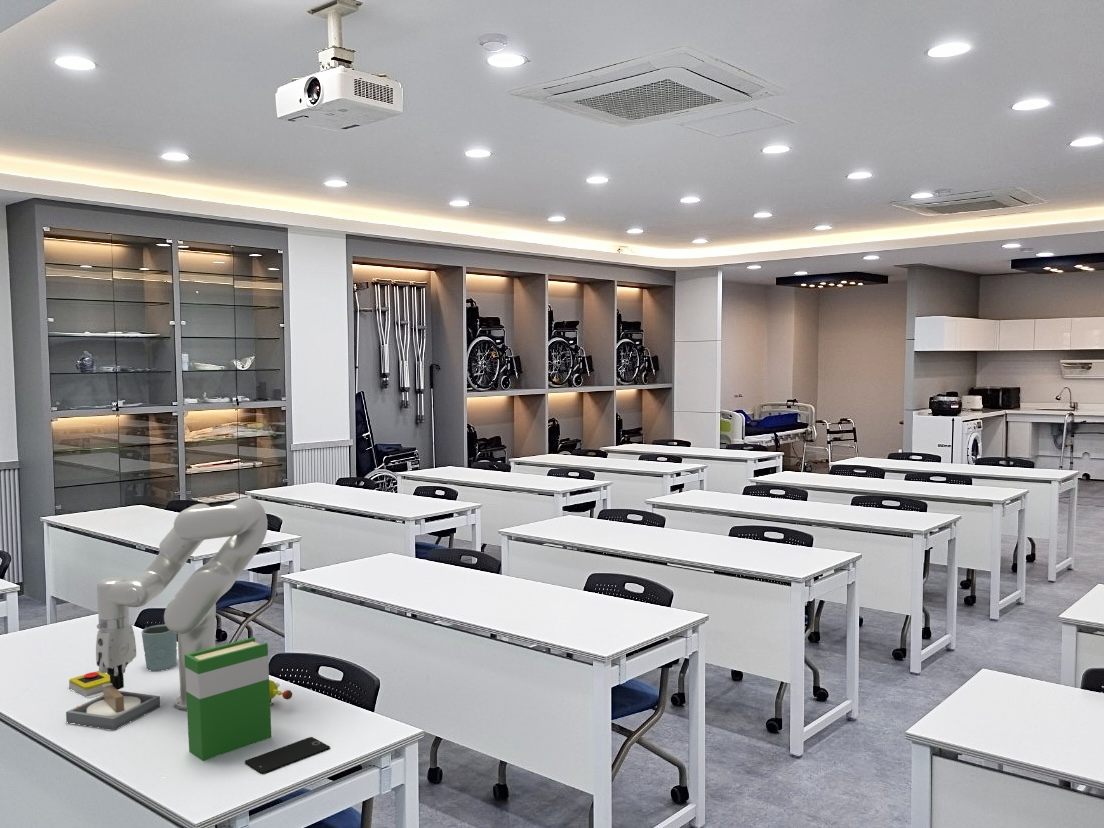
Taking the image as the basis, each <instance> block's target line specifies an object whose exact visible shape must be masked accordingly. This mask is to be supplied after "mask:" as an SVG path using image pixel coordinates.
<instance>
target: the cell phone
mask: <svg viewBox="0 0 1104 828" xmlns="http://www.w3.org/2000/svg"><path fill="white" fill-rule="evenodd" d="M329 750H331V747H330V746H329V744H326V743H324V742H322V741H320V740H319V739H317V738H316V737H313V736H309V737H306V738H304V739H300V740H298V741H295V742H293V743H289V744H287V745H284V746H282V747H278V748H275V749H272V750H270V751H267V752H264V753H262V754H259V755H257V756H253V757H250V758H248V759H246V760H245V761H244V764H245V766H248V767H249V768H251V769H252V770H253V771H255V772H257V773H259V774H260V775H266V774H269V773H271V772H275V771H276V770H279V769H281V768H284V767H287V766H290V765H292V764H296V763H297V762H300V761H303V760H305V759H308V758H311V757H313V756H317V755H319V754H321V753H324V752H327V751H329Z"/></svg>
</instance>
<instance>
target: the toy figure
mask: <svg viewBox="0 0 1104 828" xmlns="http://www.w3.org/2000/svg"><path fill="white" fill-rule="evenodd" d="M280 685H281V684H280V683H279V682H275V681H274V680H271V679H269V688H270V707H271V706H273V705H274V704H275V703H274V702H272V699H274V698H275V697H276V696H277V695H278V696H281V695H282V698H283V699H284V700H290V699H292V698H293V692H292V691H291V690H289V689H287V690H283V692H282V690H279V689H278V688H279V687H280Z"/></svg>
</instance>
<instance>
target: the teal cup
mask: <svg viewBox="0 0 1104 828" xmlns="http://www.w3.org/2000/svg"><path fill="white" fill-rule="evenodd" d="M141 637H142V644H143V645H142V646H143V652H144V658H145V667H146V670H147V669H148V670H151V671H150V672H162V671H161V670H165V671H167V670H166V669H169V670H171V669H170V668H172V667H174V666H175V667H176V666H177V661H178V660H177V659H178V658H177V655H178V652H177V651H178V634H177V633H174V632H172V631H170V630H169V629H168V628H167V626H166V625H165V623H164V624H156V625H151V626H149V627H145V628H143V629H142V630H141ZM175 667H174V668H175ZM172 669H173V668H172ZM148 670H147V671H148Z"/></svg>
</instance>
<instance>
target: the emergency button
mask: <svg viewBox="0 0 1104 828" xmlns="http://www.w3.org/2000/svg"><path fill="white" fill-rule="evenodd" d="M68 682H69V683H68V684H69V685H68V686H69V688H70V689H72V690H74V691H75V693H77V694H78V695H80V696H81V697H84V698H85V699H93V698H98V697H100V696H102V695H104V694H103V685H104V684H108V683H110V675H108V674H107V673H99V670H97V671H92V672H88V673H85V674H82V675H79V676H75V677H70V678H69V681H68ZM70 689H69V690H70ZM72 690H71V691H72ZM74 691H73V692H74Z"/></svg>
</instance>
